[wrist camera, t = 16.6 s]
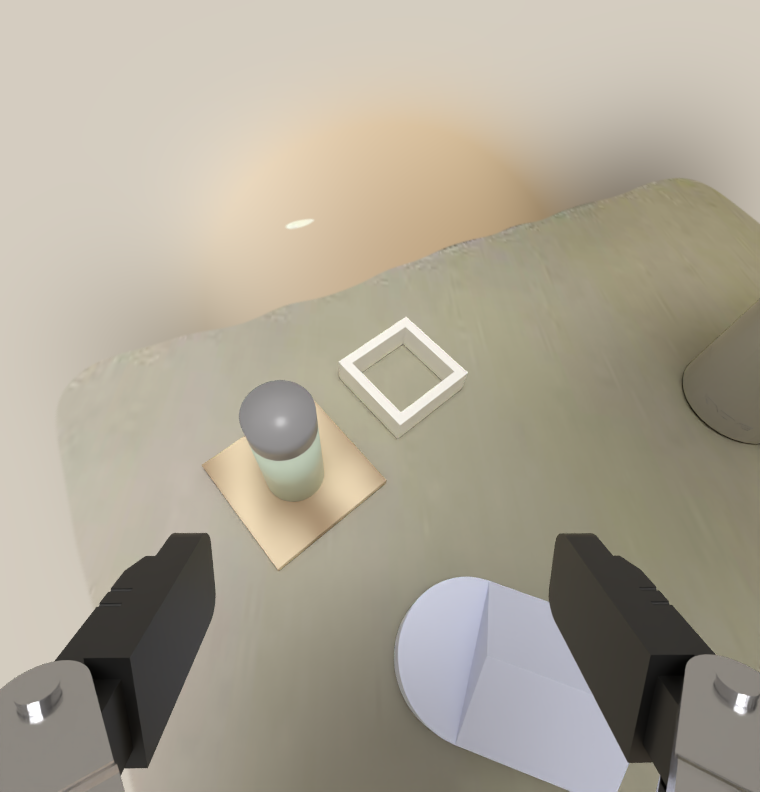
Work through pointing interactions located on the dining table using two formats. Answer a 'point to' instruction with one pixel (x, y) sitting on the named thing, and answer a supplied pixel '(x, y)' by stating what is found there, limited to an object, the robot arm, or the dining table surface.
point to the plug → (284, 438)
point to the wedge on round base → (504, 684)
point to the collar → (422, 349)
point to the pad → (303, 520)
